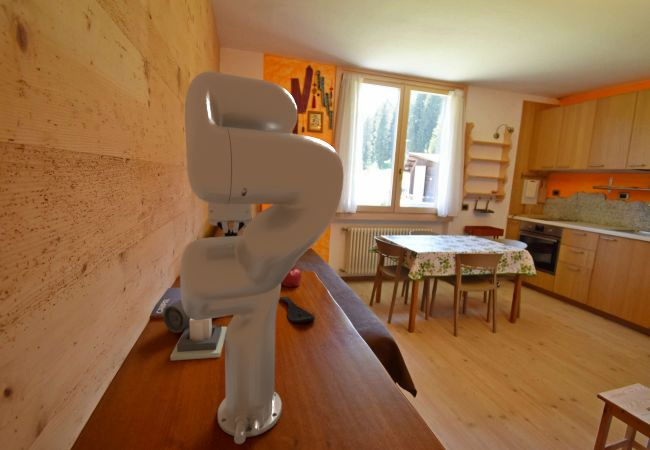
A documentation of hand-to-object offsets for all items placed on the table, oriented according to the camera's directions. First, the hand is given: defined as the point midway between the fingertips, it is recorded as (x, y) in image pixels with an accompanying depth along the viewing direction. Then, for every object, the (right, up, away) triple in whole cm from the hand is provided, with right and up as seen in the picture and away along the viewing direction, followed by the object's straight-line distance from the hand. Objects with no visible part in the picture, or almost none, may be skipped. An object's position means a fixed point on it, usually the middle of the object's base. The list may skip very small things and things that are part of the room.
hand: (231, 247), depth 77 cm
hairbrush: (+13, -26, +31) cm, 42 cm away
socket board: (-11, -28, +8) cm, 31 cm away
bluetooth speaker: (-15, -26, +21) cm, 36 cm away
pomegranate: (+9, -21, +57) cm, 61 cm away
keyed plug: (-11, -27, +8) cm, 30 cm away
